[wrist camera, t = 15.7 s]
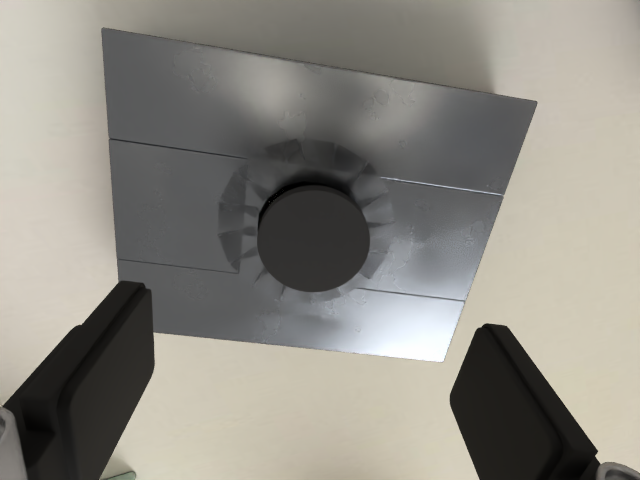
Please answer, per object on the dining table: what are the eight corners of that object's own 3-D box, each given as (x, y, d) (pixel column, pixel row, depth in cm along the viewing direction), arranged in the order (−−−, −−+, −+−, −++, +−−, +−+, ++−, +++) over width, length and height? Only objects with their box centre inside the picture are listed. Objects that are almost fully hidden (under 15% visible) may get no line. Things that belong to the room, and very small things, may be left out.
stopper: (273, 153, 23) (262, 181, 18) (363, 166, 24) (381, 198, 18) (264, 236, 26) (252, 286, 20) (347, 247, 26) (358, 298, 20)
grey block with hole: (141, 35, 20) (100, 27, 16) (496, 95, 22) (538, 101, 18) (149, 289, 27) (121, 329, 23) (424, 320, 29) (443, 362, 25)
